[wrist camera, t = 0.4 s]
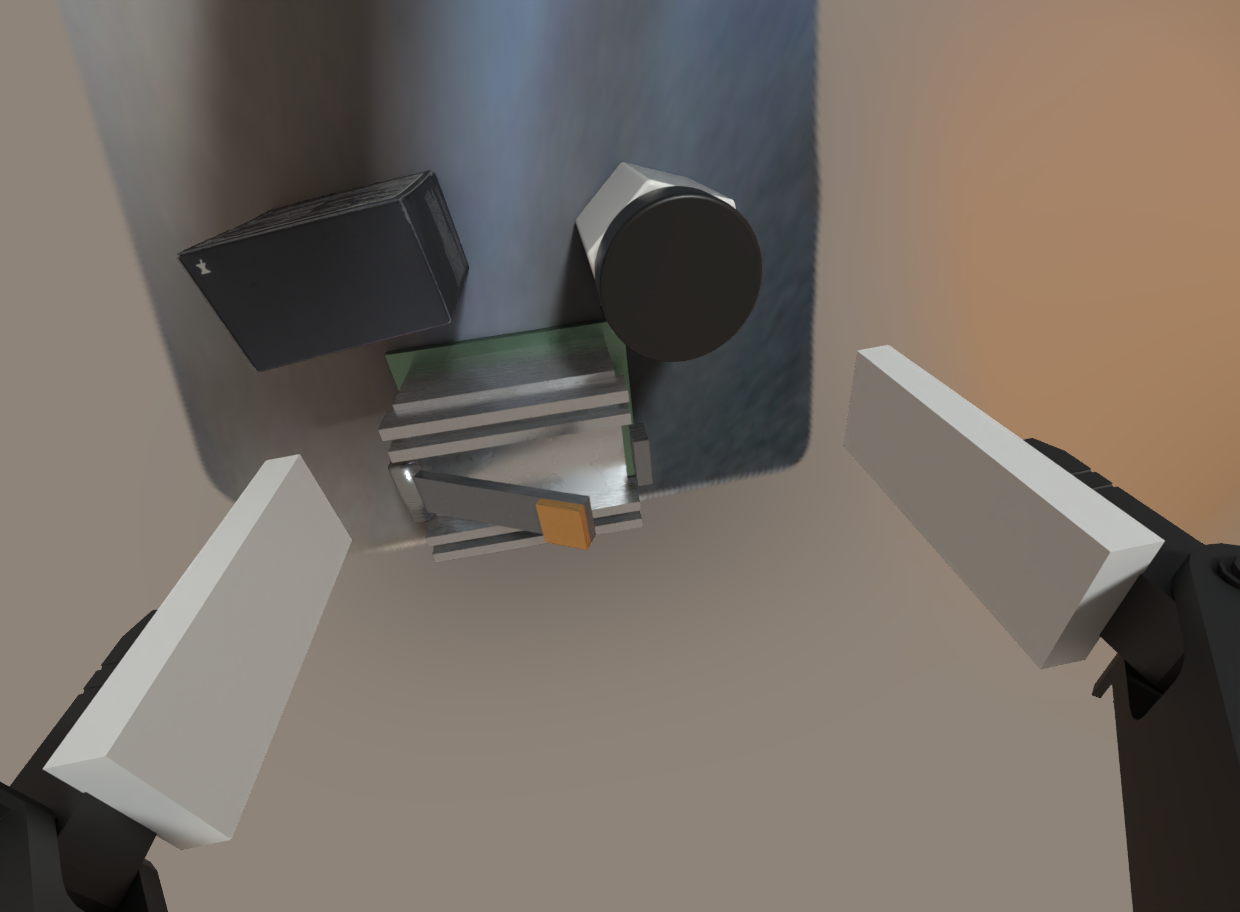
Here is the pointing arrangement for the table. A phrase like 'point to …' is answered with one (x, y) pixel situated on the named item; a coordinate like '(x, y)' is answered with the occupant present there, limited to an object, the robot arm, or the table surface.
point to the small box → (334, 271)
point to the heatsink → (522, 425)
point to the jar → (669, 262)
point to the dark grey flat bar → (495, 504)
